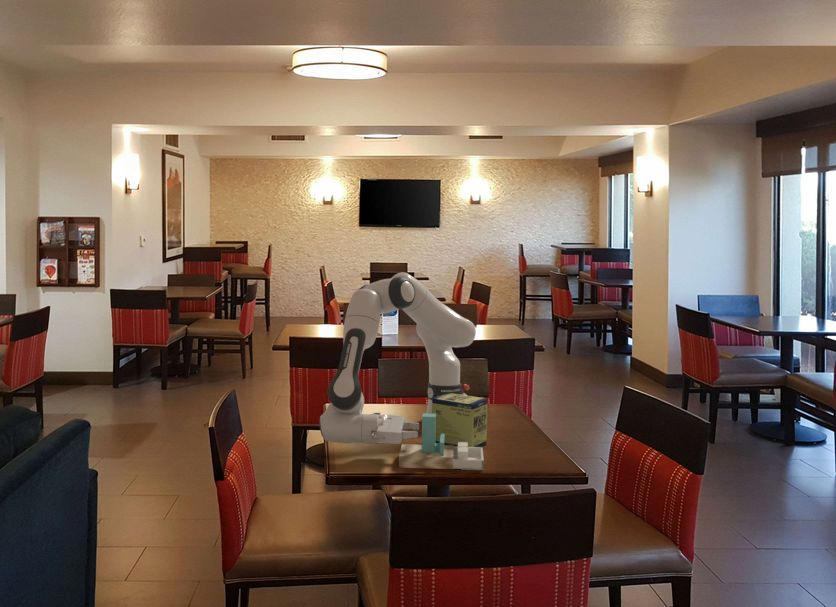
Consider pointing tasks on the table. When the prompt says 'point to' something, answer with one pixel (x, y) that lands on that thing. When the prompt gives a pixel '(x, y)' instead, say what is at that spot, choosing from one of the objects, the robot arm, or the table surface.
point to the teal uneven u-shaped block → (431, 435)
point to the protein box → (460, 419)
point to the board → (425, 457)
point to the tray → (469, 459)
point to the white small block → (462, 453)
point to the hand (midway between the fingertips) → (418, 430)
